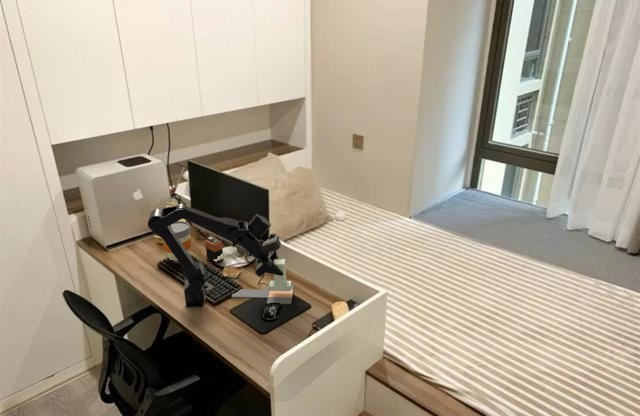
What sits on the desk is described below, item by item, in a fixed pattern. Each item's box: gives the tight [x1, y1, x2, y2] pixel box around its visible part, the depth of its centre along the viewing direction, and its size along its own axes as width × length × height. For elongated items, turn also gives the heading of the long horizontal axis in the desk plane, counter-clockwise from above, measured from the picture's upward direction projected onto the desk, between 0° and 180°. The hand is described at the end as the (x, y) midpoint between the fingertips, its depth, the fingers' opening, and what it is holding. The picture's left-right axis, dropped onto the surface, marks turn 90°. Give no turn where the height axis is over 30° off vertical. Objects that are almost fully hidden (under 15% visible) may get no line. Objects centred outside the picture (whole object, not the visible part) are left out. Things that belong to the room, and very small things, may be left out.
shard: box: [221, 265, 242, 279], centre depth 187 cm, size 11×8×2 cm
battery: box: [204, 236, 224, 262], centre depth 195 cm, size 4×7×10 cm, turn 49°
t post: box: [268, 258, 293, 291], centre depth 168 cm, size 8×4×12 cm, turn 87°
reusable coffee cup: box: [162, 220, 192, 261], centre depth 195 cm, size 13×13×15 cm
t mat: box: [231, 284, 295, 305], centre depth 171 cm, size 23×12×1 cm, turn 87°
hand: (283, 271), depth 167 cm, fingers closed on t post, 4 cm apart
